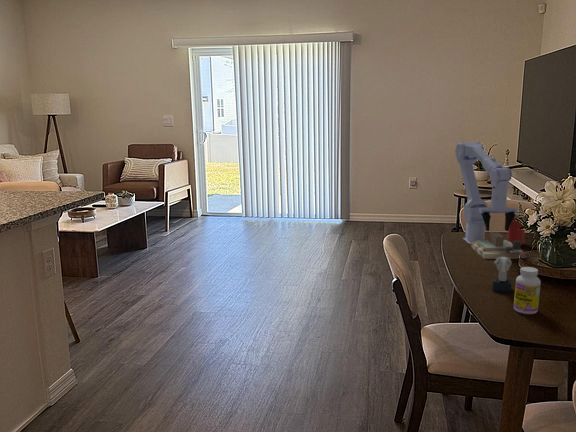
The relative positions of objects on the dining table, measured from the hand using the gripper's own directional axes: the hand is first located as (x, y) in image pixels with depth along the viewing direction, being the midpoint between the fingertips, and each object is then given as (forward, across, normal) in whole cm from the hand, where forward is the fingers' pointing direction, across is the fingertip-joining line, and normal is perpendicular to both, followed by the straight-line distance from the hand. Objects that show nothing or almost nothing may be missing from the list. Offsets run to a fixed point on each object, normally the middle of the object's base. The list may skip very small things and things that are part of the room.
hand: (496, 230), depth 220 cm
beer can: (+9, +12, +11) cm, 19 cm away
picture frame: (+9, 0, -2) cm, 9 cm away
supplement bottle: (+9, -12, -64) cm, 66 cm away
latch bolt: (+5, +4, -11) cm, 13 cm away
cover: (+7, 0, 0) cm, 7 cm away
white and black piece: (+9, -13, -46) cm, 49 cm away
